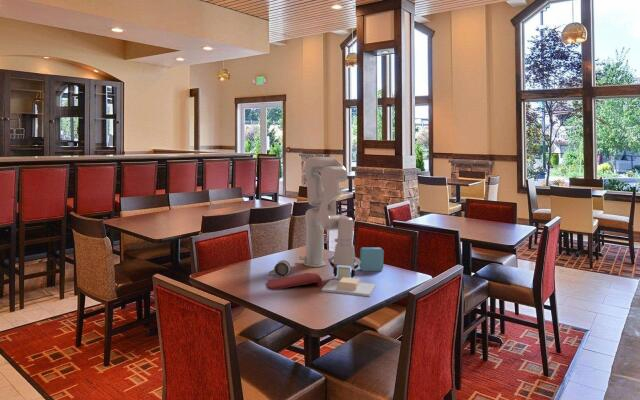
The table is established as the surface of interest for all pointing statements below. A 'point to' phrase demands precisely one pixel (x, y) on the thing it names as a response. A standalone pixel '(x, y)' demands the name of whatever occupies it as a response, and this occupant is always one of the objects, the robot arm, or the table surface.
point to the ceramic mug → (281, 269)
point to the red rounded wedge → (295, 281)
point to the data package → (371, 259)
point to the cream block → (343, 272)
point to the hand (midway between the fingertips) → (344, 276)
